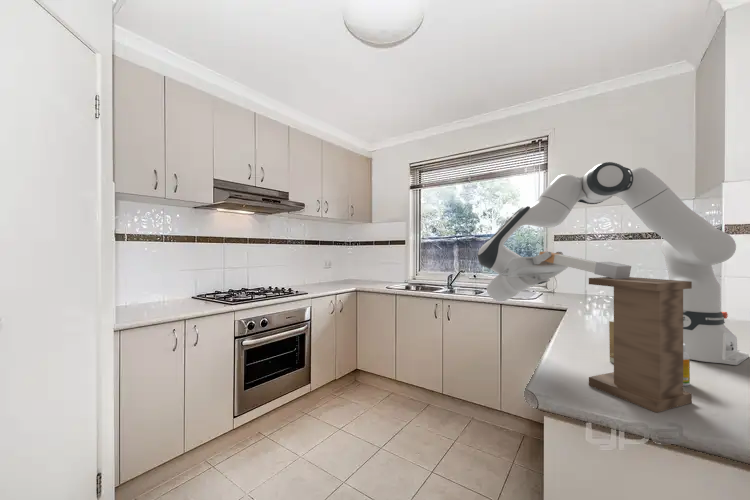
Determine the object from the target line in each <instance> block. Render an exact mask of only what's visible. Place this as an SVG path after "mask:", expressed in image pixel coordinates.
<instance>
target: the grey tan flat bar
mask: <svg viewBox="0 0 750 500" xmlns="http://www.w3.org/2000/svg"><path fill="white" fill-rule="evenodd" d="M545 252H546V251H539V252H538V253H539V255H541V254H543V253H545ZM550 252H551V254H552V257H551V258H550V259H547V260H545V261H546V262H550V263H555V264H559V265H563V266H568V267H567V268H573V269H576V270H580V271H585V272H590V273H593V274H594V275H598V276H601V277H609V278H613V279H623V278H629V277H631V276H630V275H631V270H632V265H627V264H622V263H619V262H613V261H594V260H591V259H584V258H579V257H575V256H570V255H566V254H563V255H562V254H557V253H556V252H553V251H550Z"/></svg>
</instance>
